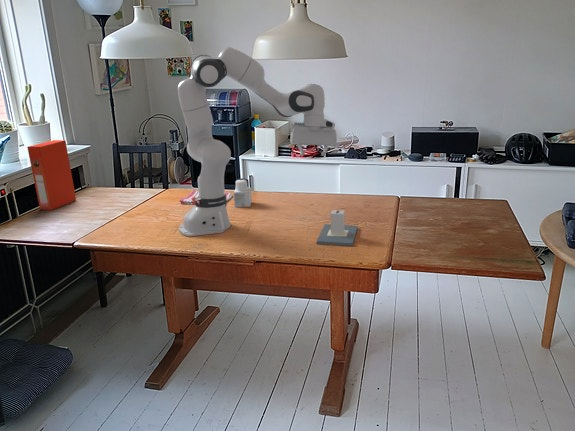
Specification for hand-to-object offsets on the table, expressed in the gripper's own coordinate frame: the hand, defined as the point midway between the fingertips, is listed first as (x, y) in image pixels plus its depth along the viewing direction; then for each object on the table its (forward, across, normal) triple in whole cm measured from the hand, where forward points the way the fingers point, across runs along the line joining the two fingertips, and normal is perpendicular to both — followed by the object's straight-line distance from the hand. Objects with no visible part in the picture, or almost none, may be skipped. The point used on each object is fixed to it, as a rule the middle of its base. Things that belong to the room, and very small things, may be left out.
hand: (313, 155), depth 219 cm
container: (+24, -23, +40) cm, 51 cm away
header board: (+33, +6, -16) cm, 37 cm away
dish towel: (+22, -40, +54) cm, 71 cm away
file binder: (+26, -114, +74) cm, 138 cm away
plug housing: (+32, +6, -16) cm, 36 cm away
